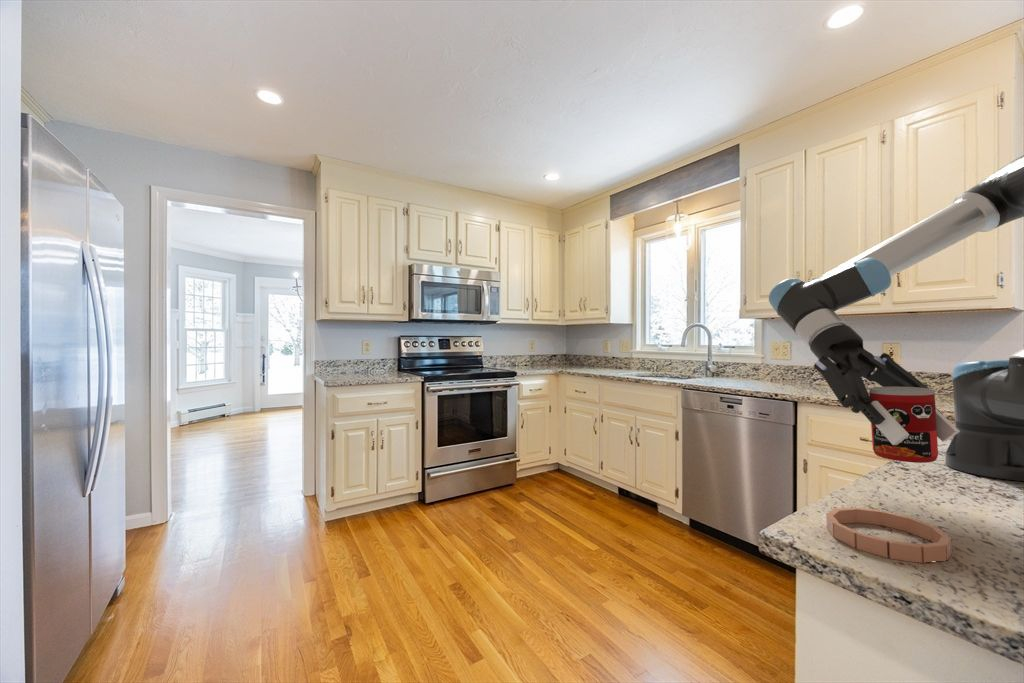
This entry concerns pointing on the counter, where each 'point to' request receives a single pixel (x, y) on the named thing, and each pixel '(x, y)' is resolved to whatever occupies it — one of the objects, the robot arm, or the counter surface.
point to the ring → (886, 548)
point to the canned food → (907, 423)
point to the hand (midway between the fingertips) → (926, 438)
